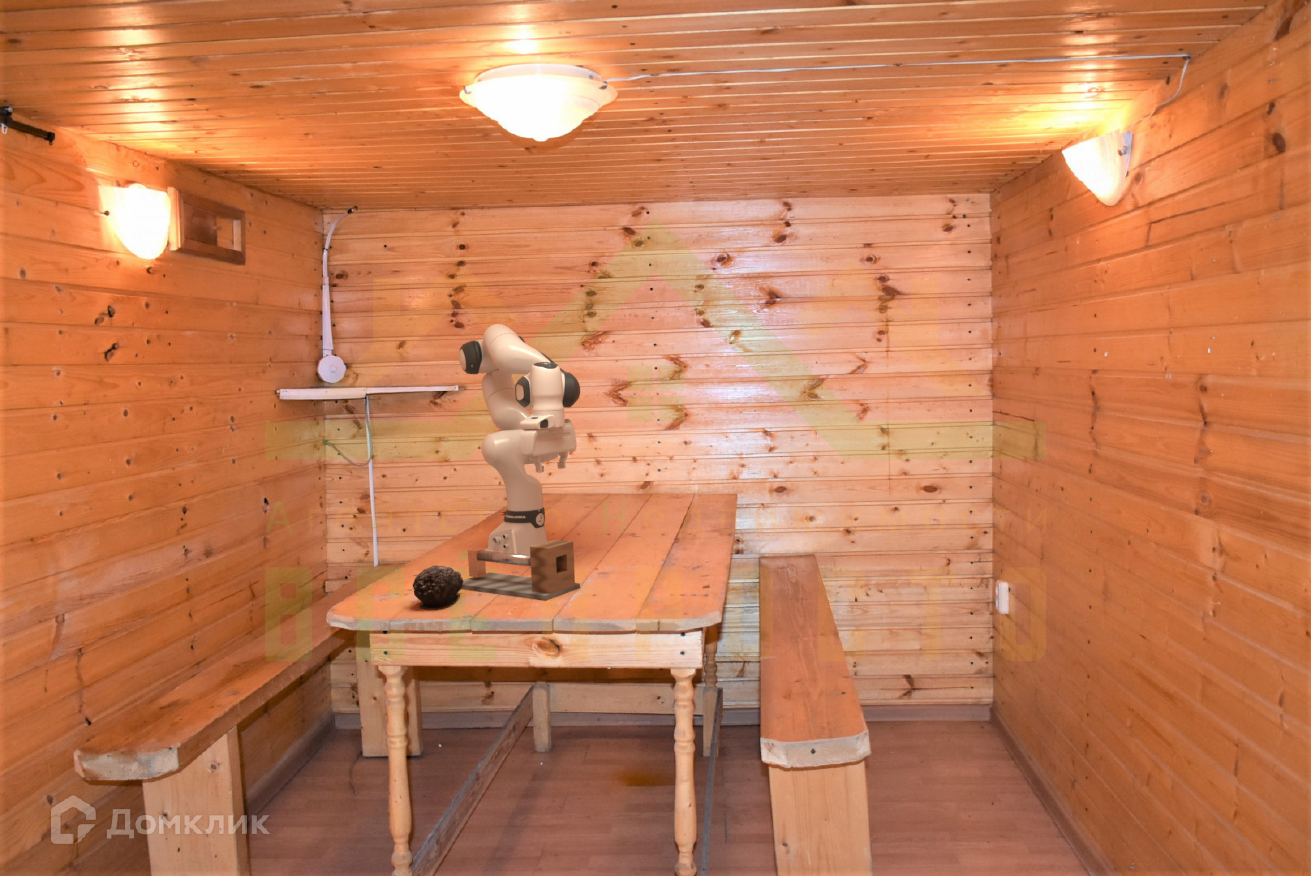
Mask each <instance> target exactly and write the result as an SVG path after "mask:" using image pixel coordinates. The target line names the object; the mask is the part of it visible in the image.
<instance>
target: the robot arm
mask: <svg viewBox="0 0 1311 876" xmlns="http://www.w3.org/2000/svg"><path fill="white" fill-rule="evenodd" d="M458 362H459V364H460V366H461V368H462V370H463V371H464V372H465V373H466V374H468V375H478V374H484V375H483V376H482V379H481V391H482V396H483V400H484V402H485V405H486V408H487V410H488V413H489V416H490V417H491V420H492V423H493V425H495V427H496V428H498V429H499V431H495V432H491V433H489V434H486V435H485V437H484V439H482V443H481V447H480V448H481V450H480V451H481V455H482V457H483V459H484V461H485V462H486V463H487V464H488V465H489V466H491V467H492V468H494V469H495V470H496V471H497V473H498V474H499V476H500V477H501V479H502V481H503V484H504V488H505V494H506V506H507V507H506V510H505V511H501V512H500V513H501V515H500V516H504V517H503V521H502V522H501V523H500V524H499V525H498V526H497V527H496V528H495V529H493V530H492V531H491V532H490V533H489V536H488V540H487V547H486V548H484V549H485V551H493V552H502V553H512V554H522V555H530V547H531V546H534V545H538V544H541V543H545V542H548V541H549V540H548V537H547V531H546V526H545V523H546V522H545V521H546V510H545V507H544V501H543V500H544V499H543V497H544V495H543V485H542V483H541V481H540V480H539V479H538V478H536V477H535V476H533V475H530V474H528V473H527V471H526V469H525V468H526V467H525V465H529V464H530V465H531V464H533V466H534V467H535V473H537V474H538V473H539V474H540V473H544V471H545V465H542V464H543V463H547V462H549V461H552V460H555V459H557V458H558V457H559V460H558V461H557V464H556V465H557V469H560V470H562V469H566V467H567V466H566V465H567V464H566V461H567V459H568V457H569V452H575V451H576V450H577V437H576V431H575V428H574V424H573V423H574V422H572V421H571V419H569V418H565V408H567V409H568V408H569V409H570V408H572V406H573V405H575V403H577V401H578V400H579V399H580V396H581V386H580V383H579V381H578V379H577V378H576V376H574V375H573V374H572V373H571V372H568V371H565V370H564V369H563V368H561V367H560V366H559V364H557V363H555V362H554V361H553V360H552V358H550V357H549V356H547V355H546V354H545V353H543V352H541V351H540V350H537V349H535V348H534V347H533V346H530V345H528V344H527V342H526V341H525V339H524V338H523V337H522V336H521V335H518V334H517V333H516V332H515V331H514V330H512V329H511V328H510V327H508V326H507V325H505V324H501V323H494V324H492V325H490V326H488V327H487V329H485V331H484V333H483V336H482V339H476V340H470V341H468V342H465V343H463V344H462V345H461V347H460V348H459V351H458ZM513 375H522V376H521V377H520V378H519V379H518V380H517V381H516V383H514V380H513ZM528 409H531V413H530V412H529V410H528Z"/></svg>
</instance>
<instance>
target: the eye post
mask: <svg viewBox="0 0 1311 876" xmlns="http://www.w3.org/2000/svg"><path fill="white" fill-rule="evenodd" d="M547 541H548V542H545V543H541V544H538V545H534V546H531V547H530V560H531V566H530V572H531V573H530V575H531V577H529V576H522V575H514V574H513V575H512V574H506V573H505V574H504V573H495V572H486V575H484V576H481V577H470V578H466V579H463V584H462V587H461V589H460V590H466V589H468V591H473V590H474V592H481V593H489V594H497V595H503V596H511V597H519V598H525V599H532V600H540V601H547V600H550V599H553V598H557V597H559V596H562V595H565V594H567V593H570V592H572V591H575V590H579V589H580V588H581V583H579V582H576V576H575V575H576V574H575V556H574V555H575V554H574V553H575V552H574V551H575V550H574V540H573V541H572V540H564V539H552V540H547Z"/></svg>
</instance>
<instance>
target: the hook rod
mask: <svg viewBox="0 0 1311 876" xmlns="http://www.w3.org/2000/svg"><path fill="white" fill-rule="evenodd" d="M467 559H468V562H467V563H468V577H470V578H472V577H481V576H484V575H486V573H487V568H486V563H487V562H490V563H498V564H499V563H500V564H506V565H514V566H515V565H516V566H522V567H523V566H524V567H531V560H530V555H522V554H512V553H502V552H493V551H485V548H480V547H475V548H472V549H468V550H467Z"/></svg>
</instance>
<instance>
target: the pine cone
mask: <svg viewBox="0 0 1311 876" xmlns="http://www.w3.org/2000/svg"><path fill="white" fill-rule="evenodd" d="M463 580H464V579H463V577H462V575H461V572H459V571H456V570H454V569H453V568H452V567H450V566H445V565H432V566H430V567H427V568H424V569H422V571H420V572H419V573H418V574H417V575H416V577H415V578H414V580H413V583H412V589H413V594H414V597H416V598H417V600H418V601H420V603H421V604H419V606H418V607H419V608H421V609H426V610H429V609H430V610H432V609H433V610H440V609H445V608H448V607H450V606H452V605H453V604H454V602H455V603H456V602H457V601H458V600H459V598H460V597H461V596H460V595H461V594H460V595H458V594H459V592H460V591H461V590H462V589H461V587H462V584H463Z"/></svg>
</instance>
